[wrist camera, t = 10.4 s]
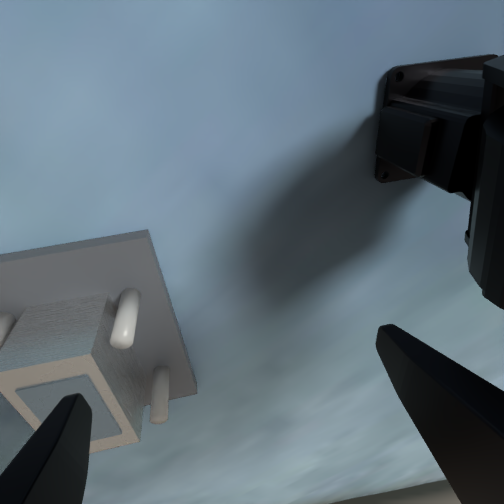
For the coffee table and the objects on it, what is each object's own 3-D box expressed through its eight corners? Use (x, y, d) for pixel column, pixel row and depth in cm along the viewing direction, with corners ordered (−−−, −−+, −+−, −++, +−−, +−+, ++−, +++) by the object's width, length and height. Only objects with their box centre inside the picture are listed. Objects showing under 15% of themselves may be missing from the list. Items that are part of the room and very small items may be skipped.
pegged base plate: (148, 229, 19) (139, 277, 15) (196, 383, 28) (199, 440, 24) (-62, 265, 18) (-134, 328, 14) (58, 415, 27) (35, 480, 23)
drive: (109, 291, 20) (89, 355, 16) (146, 377, 25) (139, 443, 21) (26, 306, 20) (-16, 376, 15) (81, 391, 25) (61, 461, 20)
